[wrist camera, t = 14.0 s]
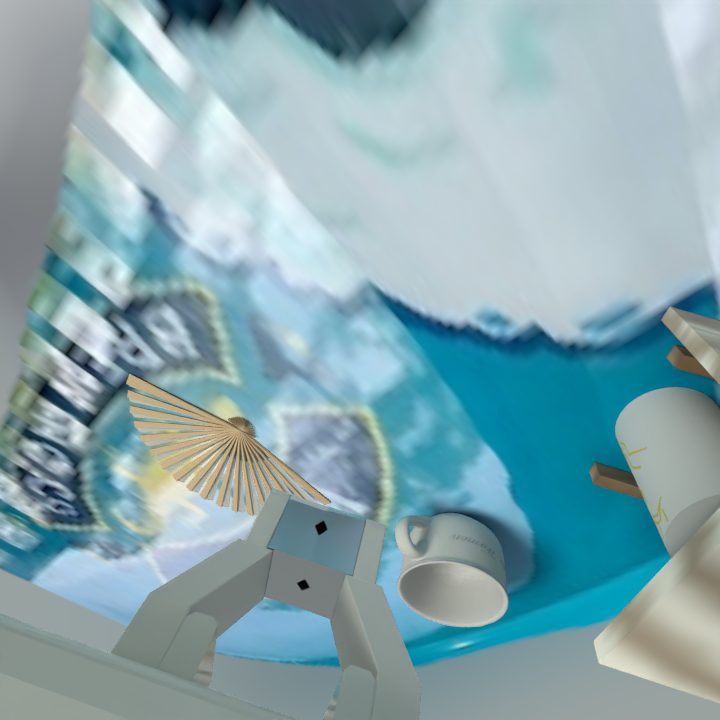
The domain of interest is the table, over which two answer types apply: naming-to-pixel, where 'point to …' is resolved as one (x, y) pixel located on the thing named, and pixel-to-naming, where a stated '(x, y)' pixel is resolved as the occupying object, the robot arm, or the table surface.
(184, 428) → the hand fan
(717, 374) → the marbled side table
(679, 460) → the cup
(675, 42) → the table surface
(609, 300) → the table surface
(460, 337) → the table surface
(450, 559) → the teacup
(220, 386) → the table surface
